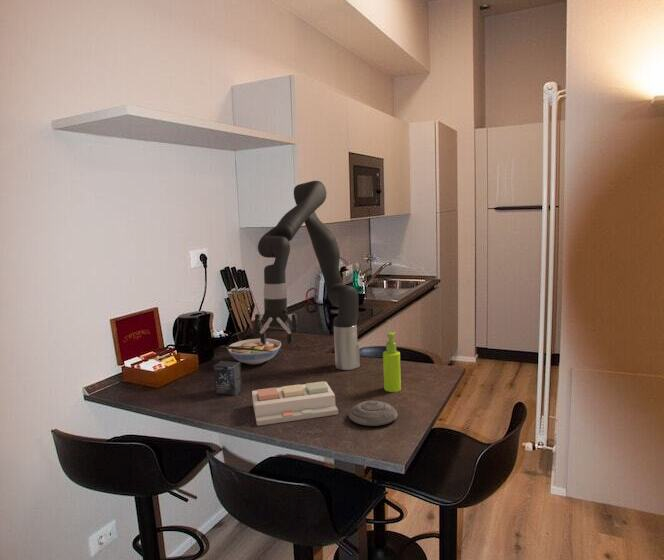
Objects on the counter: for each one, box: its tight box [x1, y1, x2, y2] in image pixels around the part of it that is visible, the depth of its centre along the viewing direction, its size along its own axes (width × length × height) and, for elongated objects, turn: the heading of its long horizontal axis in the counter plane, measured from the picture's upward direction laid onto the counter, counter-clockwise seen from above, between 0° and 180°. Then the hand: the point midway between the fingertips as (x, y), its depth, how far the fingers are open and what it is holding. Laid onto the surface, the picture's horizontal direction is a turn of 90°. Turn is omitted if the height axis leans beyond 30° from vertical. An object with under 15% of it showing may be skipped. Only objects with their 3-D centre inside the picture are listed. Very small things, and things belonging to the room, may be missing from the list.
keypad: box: [251, 381, 339, 426], centre depth 161 cm, size 25×16×5 cm, turn 103°
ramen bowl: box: [218, 338, 282, 366], centre depth 212 cm, size 25×23×8 cm
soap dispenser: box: [382, 331, 402, 393], centre depth 174 cm, size 6×7×20 cm
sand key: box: [281, 383, 303, 398], centre depth 162 cm, size 6×6×3 cm
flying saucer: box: [347, 400, 399, 427], centre depth 152 cm, size 15×15×6 cm
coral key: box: [256, 386, 278, 401], centre depth 160 cm, size 6×6×3 cm
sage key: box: [305, 381, 328, 395], centre depth 164 cm, size 6×6×3 cm
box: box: [213, 360, 243, 396], centre depth 179 cm, size 8×6×11 cm
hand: (276, 344), depth 168 cm, fingers open, 8 cm apart
